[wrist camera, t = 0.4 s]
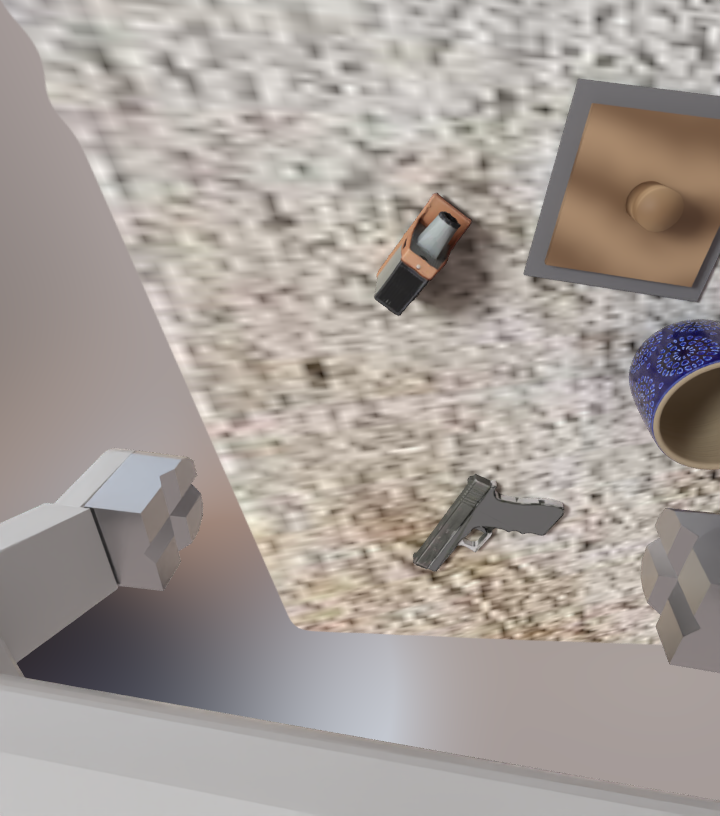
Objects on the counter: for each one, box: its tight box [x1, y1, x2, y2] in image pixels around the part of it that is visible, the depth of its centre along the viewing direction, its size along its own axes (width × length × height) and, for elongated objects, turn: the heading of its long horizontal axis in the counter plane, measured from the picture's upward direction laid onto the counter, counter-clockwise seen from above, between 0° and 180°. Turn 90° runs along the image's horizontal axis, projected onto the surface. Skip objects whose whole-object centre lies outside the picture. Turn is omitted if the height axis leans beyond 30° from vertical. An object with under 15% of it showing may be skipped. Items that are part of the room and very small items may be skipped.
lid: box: [545, 103, 720, 287], centre depth 43 cm, size 13×13×5 cm
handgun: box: [413, 474, 564, 571], centre depth 68 cm, size 2×19×12 cm
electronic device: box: [374, 193, 472, 316], centre depth 48 cm, size 4×10×8 cm, turn 147°
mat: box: [524, 79, 720, 302], centre depth 46 cm, size 16×16×1 cm
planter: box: [629, 319, 720, 470], centre depth 48 cm, size 11×11×11 cm
